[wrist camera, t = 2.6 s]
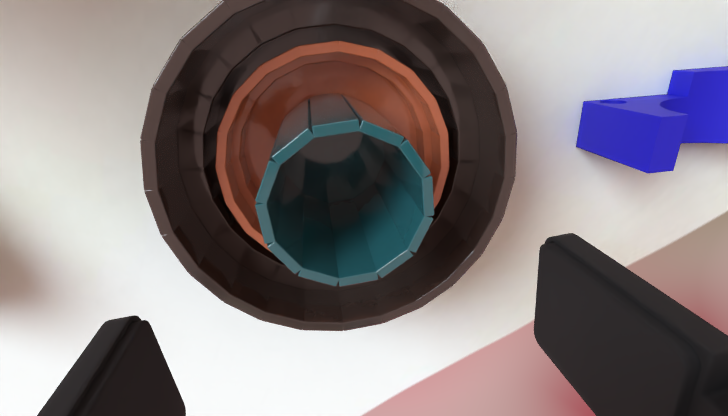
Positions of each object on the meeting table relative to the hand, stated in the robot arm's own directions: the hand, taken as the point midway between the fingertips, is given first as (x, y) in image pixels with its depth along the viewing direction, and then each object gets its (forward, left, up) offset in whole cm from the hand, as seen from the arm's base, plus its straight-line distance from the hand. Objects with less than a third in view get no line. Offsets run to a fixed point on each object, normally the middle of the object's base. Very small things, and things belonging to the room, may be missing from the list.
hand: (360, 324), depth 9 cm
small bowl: (0, 0, -16) cm, 16 cm away
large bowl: (0, 0, -16) cm, 16 cm away
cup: (0, 0, -15) cm, 15 cm away
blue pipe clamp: (-23, 0, -16) cm, 28 cm away
